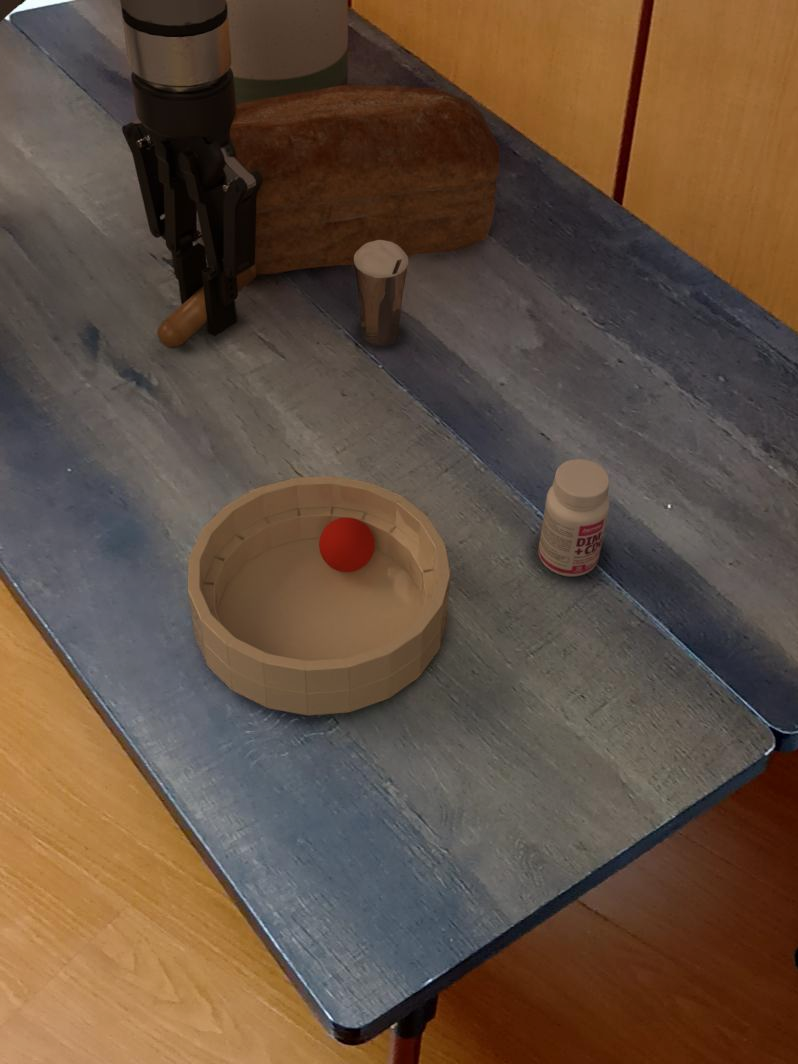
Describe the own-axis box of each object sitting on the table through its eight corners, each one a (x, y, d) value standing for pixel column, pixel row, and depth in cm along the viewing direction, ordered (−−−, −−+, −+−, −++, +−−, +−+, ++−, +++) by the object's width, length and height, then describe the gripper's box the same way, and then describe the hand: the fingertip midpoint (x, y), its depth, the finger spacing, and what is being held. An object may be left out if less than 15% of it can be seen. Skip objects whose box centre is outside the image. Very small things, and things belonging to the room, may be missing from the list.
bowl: (194, 733, 87) (186, 678, 83) (196, 538, 99) (189, 481, 95) (458, 712, 90) (464, 659, 86) (431, 526, 102) (434, 470, 98)
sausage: (238, 249, 117) (253, 250, 116) (251, 271, 119) (267, 273, 117) (146, 329, 112) (162, 332, 111) (162, 351, 114) (177, 354, 112)
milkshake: (374, 362, 115) (375, 266, 107) (345, 327, 118) (344, 232, 110) (419, 347, 117) (423, 252, 109) (390, 313, 120) (392, 219, 112)
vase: (176, 84, 143) (150, -151, 125) (331, 75, 148) (327, -153, 130) (196, 168, 132) (172, -76, 115) (363, 156, 137) (364, -80, 119)
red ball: (303, 541, 97) (348, 560, 99) (314, 571, 94) (361, 590, 96) (332, 499, 96) (377, 519, 98) (344, 527, 93) (391, 547, 95)
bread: (188, 221, 126) (173, 81, 116) (467, 188, 135) (476, 55, 124) (212, 295, 119) (198, 153, 108) (505, 256, 127) (518, 121, 117)
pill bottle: (578, 588, 99) (593, 510, 93) (525, 559, 101) (536, 481, 95) (610, 551, 102) (626, 473, 96) (559, 523, 104) (571, 445, 98)
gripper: (293, 87, 99) (305, 337, 116) (146, 18, 104) (178, 266, 121) (220, 124, 94) (244, 378, 111) (71, 50, 100) (116, 303, 117)
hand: (210, 320), depth 116 cm, fingers closed on sausage, 2 cm apart
